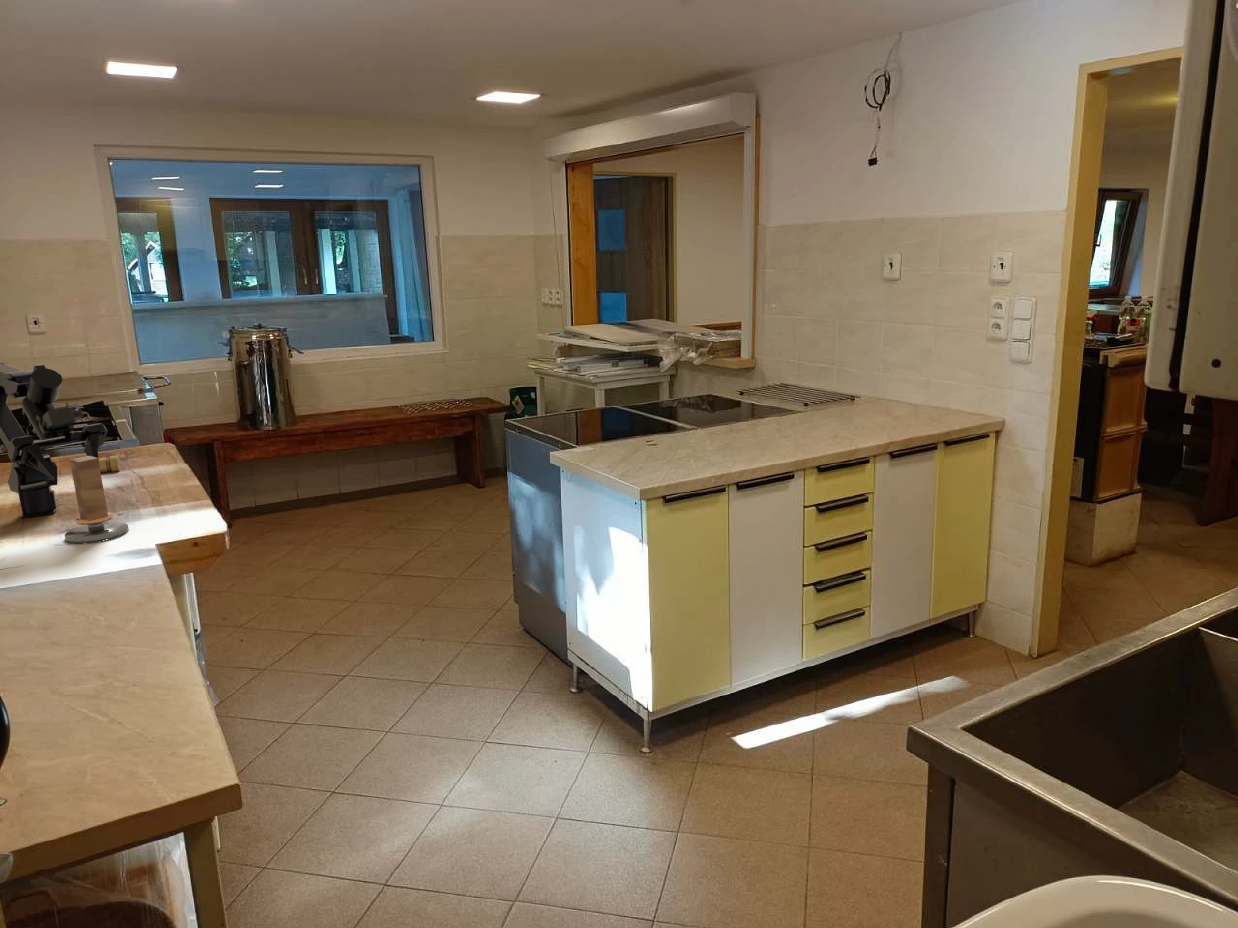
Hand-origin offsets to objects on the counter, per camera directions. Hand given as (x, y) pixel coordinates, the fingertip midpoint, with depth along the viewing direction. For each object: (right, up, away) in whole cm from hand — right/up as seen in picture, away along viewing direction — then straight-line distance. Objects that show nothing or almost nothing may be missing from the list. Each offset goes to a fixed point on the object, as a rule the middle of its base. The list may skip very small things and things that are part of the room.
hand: (75, 472), depth 193 cm
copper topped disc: (+5, -14, 0) cm, 14 cm away
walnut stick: (+5, -10, -1) cm, 11 cm away
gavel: (-30, +1, +63) cm, 70 cm away
